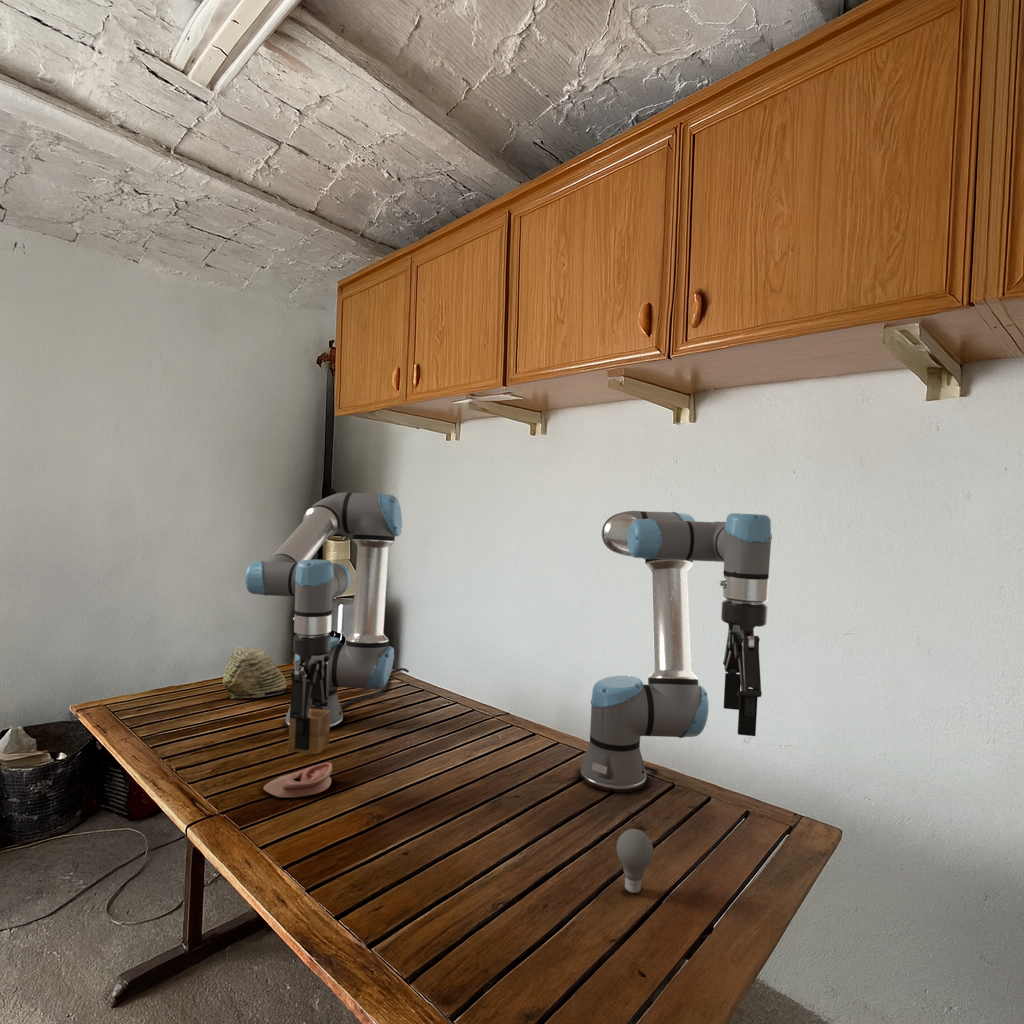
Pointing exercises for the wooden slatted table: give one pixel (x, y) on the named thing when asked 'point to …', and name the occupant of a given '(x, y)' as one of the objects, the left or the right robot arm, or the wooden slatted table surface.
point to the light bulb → (634, 857)
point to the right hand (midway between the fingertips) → (738, 721)
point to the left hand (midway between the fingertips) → (308, 742)
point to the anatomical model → (301, 782)
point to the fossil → (252, 674)
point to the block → (313, 731)
